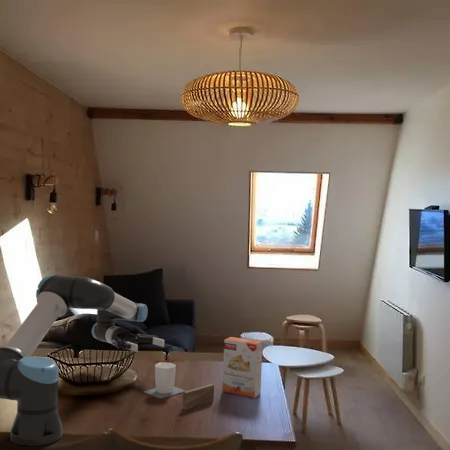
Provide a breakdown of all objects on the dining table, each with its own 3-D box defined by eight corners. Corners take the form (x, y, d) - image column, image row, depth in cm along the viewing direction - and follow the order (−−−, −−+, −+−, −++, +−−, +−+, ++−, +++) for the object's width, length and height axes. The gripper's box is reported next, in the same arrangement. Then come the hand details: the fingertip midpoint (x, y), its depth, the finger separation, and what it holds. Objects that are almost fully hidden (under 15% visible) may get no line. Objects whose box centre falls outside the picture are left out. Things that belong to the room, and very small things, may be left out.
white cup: (171, 395, 215) (172, 369, 215) (151, 393, 216) (152, 367, 216) (177, 389, 223) (178, 363, 222) (158, 387, 224) (158, 361, 224)
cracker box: (221, 392, 222) (223, 338, 221) (228, 388, 227) (230, 335, 226) (254, 399, 215) (256, 344, 214) (261, 394, 220) (263, 341, 220)
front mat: (186, 391, 221) (186, 390, 221) (160, 398, 211) (160, 398, 211) (169, 385, 228) (169, 384, 228) (143, 392, 218) (143, 391, 218)
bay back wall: (213, 400, 211) (214, 384, 211) (185, 409, 201) (186, 392, 201) (210, 399, 212) (211, 383, 212) (182, 408, 202) (183, 391, 202)
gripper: (141, 341, 250) (173, 350, 236) (93, 349, 232) (124, 360, 217) (142, 324, 250) (174, 332, 236) (93, 331, 232) (125, 340, 217)
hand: (150, 345), depth 226 cm, fingers open, 13 cm apart
